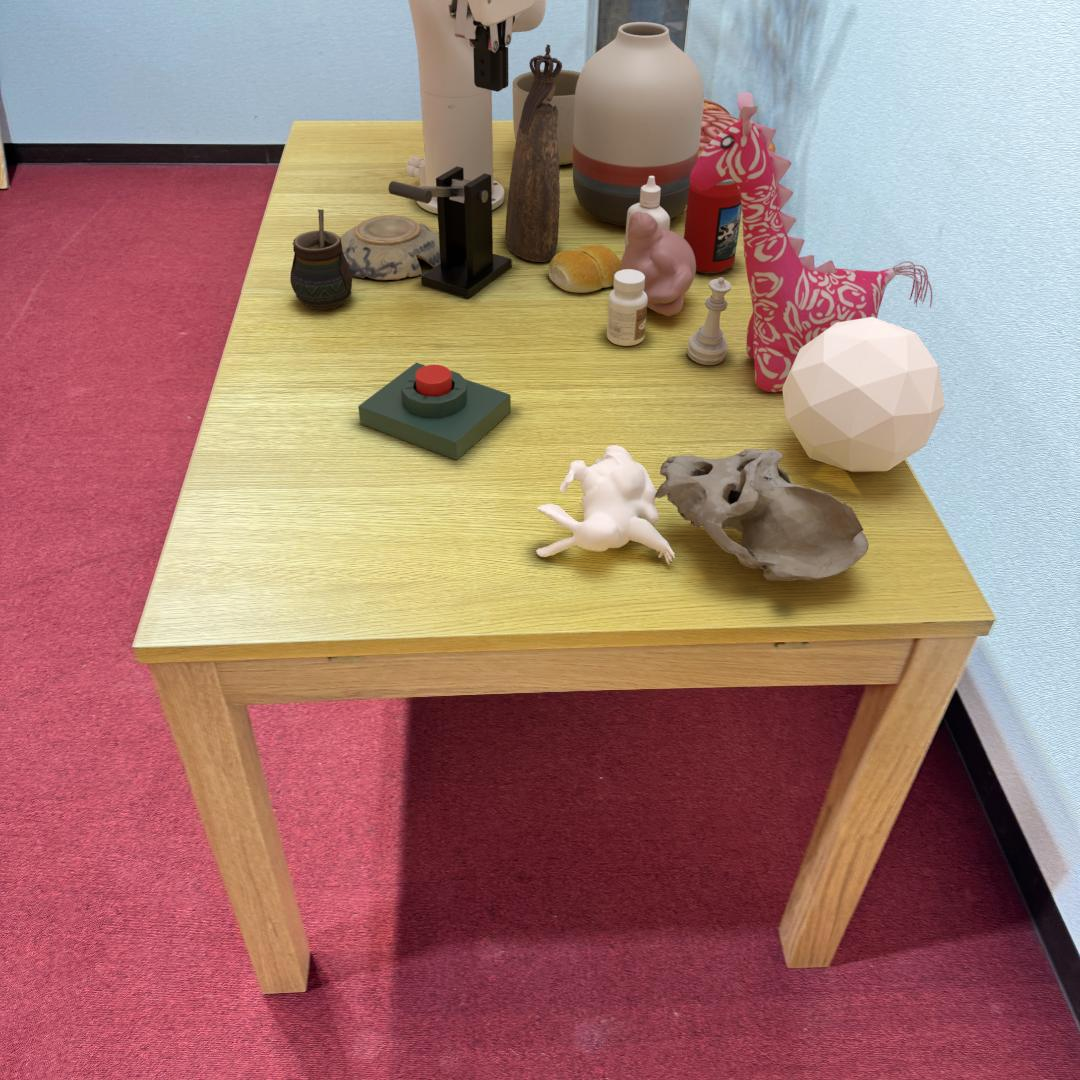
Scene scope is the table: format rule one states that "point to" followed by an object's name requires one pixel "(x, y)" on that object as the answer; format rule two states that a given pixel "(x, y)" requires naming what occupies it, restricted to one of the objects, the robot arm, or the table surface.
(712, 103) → the anatomical model
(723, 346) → the chess piece
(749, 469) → the skull
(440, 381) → the button
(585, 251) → the bread roll
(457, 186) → the lever
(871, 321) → the geometric shape
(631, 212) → the eye dropper bottle
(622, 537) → the rabbit figurine
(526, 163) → the statue
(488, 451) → the table surface
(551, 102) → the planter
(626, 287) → the pill bottle
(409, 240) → the decorative bowl
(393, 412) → the block
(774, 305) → the toy
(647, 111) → the vase
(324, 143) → the table surface
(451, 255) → the lever bracket
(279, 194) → the table surface
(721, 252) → the beverage can
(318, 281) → the mate gourd
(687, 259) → the figurine
